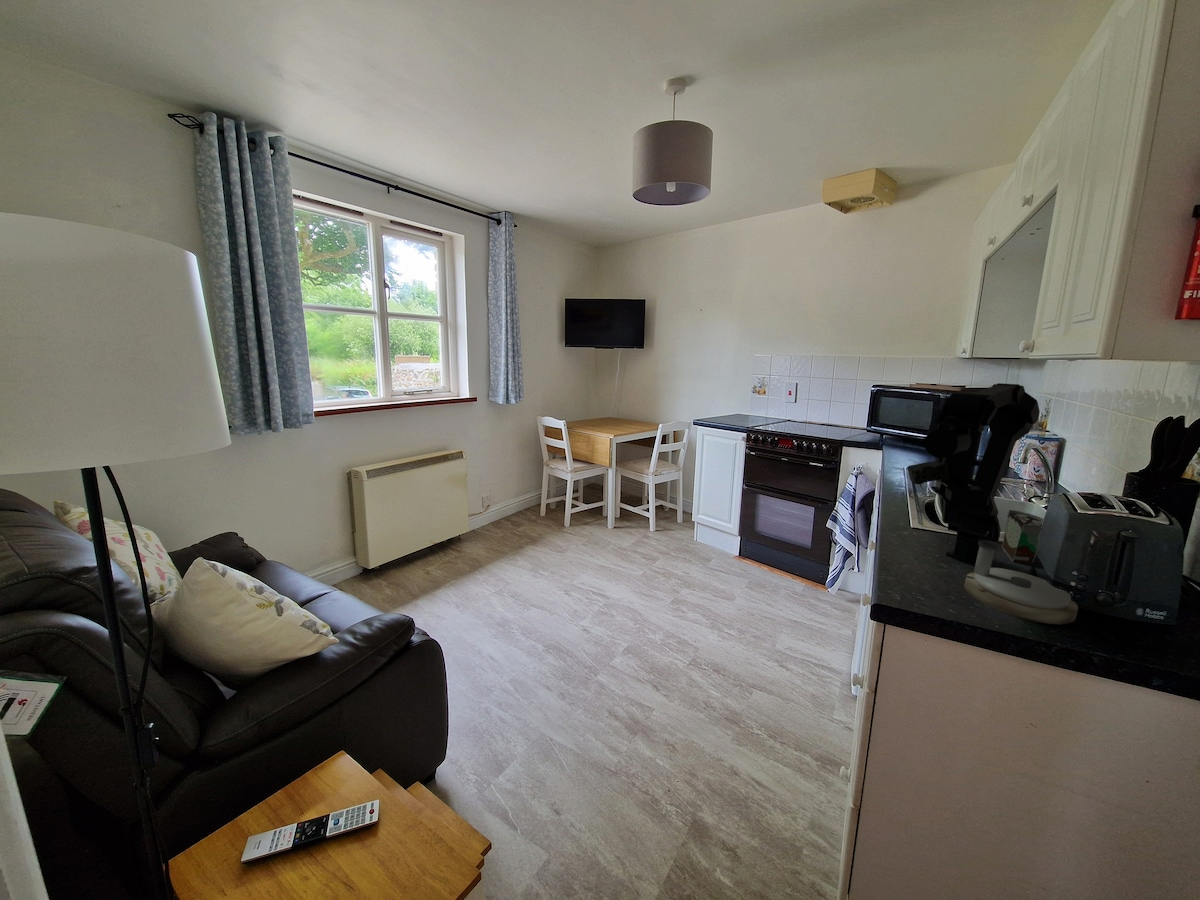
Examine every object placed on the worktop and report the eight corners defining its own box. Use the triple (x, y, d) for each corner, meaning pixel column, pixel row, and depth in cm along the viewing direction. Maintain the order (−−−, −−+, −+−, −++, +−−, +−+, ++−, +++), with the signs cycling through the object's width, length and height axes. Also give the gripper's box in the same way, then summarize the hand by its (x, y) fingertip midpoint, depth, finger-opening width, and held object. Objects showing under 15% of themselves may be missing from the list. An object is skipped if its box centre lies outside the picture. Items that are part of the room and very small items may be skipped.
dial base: (990, 574, 100) (992, 565, 100) (1092, 612, 86) (1095, 602, 85) (947, 588, 94) (949, 578, 93) (1049, 632, 79) (1052, 621, 79)
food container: (1049, 571, 103) (1060, 530, 100) (1014, 564, 106) (1024, 524, 103) (1031, 551, 113) (1041, 513, 111) (1000, 545, 116) (1008, 509, 114)
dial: (996, 567, 98) (1004, 533, 97) (1083, 600, 86) (1094, 560, 84) (958, 579, 93) (966, 543, 91) (1047, 615, 80) (1058, 574, 78)
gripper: (903, 441, 105) (892, 504, 109) (928, 458, 88) (914, 532, 91) (960, 446, 101) (947, 511, 105) (999, 464, 84) (981, 541, 88)
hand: (946, 523), depth 97 cm, fingers closed
